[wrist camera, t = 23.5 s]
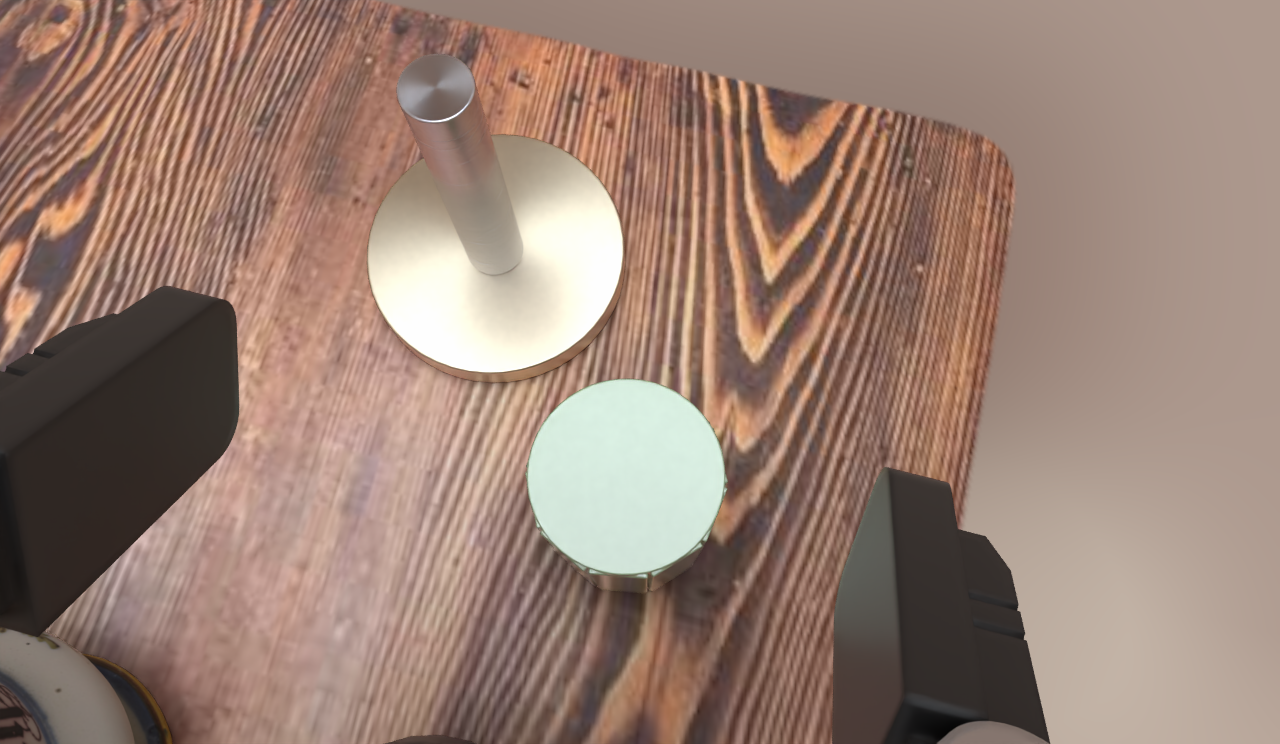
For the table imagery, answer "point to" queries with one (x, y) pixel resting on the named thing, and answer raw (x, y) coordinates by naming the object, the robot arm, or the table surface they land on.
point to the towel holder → (490, 240)
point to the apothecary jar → (71, 696)
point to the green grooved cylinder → (626, 483)
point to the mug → (430, 740)
